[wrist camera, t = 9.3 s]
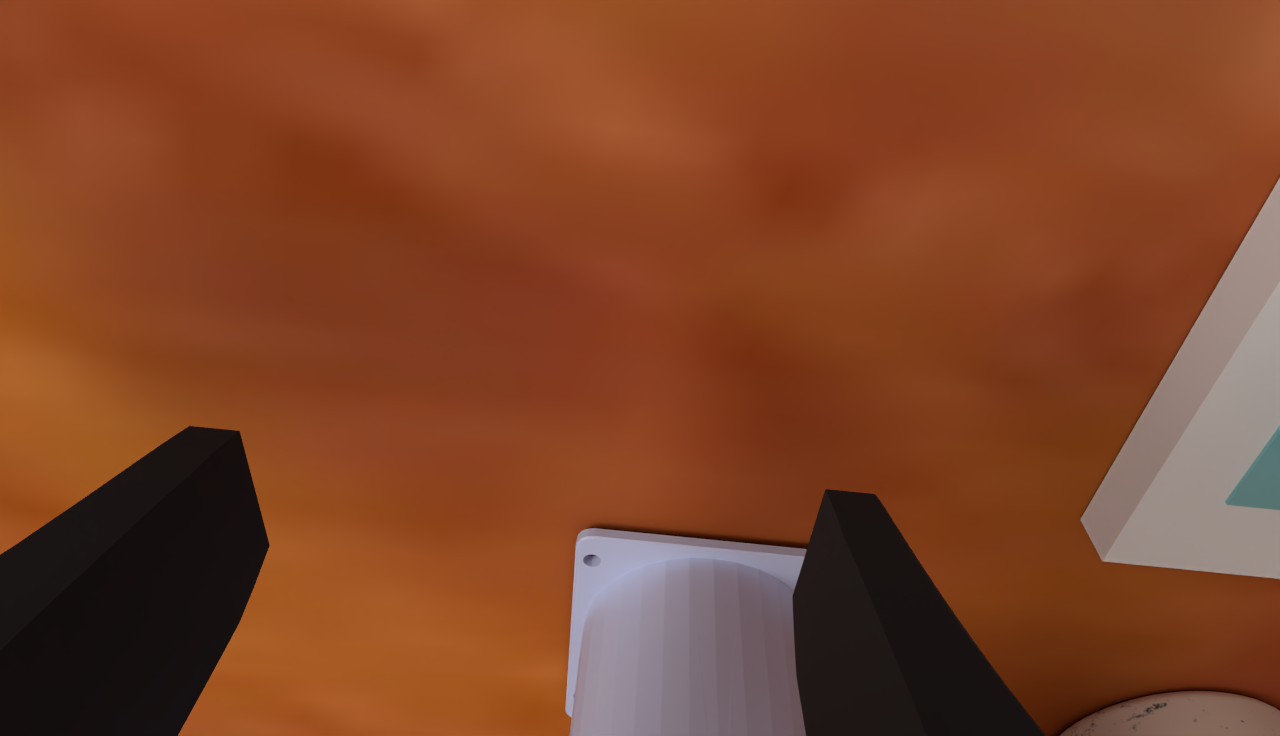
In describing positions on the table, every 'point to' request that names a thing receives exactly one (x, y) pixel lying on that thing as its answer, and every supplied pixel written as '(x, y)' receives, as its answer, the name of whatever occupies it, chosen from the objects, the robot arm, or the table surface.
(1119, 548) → the pin board
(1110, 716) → the teacup with lid
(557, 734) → the table surface
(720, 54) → the table surface
